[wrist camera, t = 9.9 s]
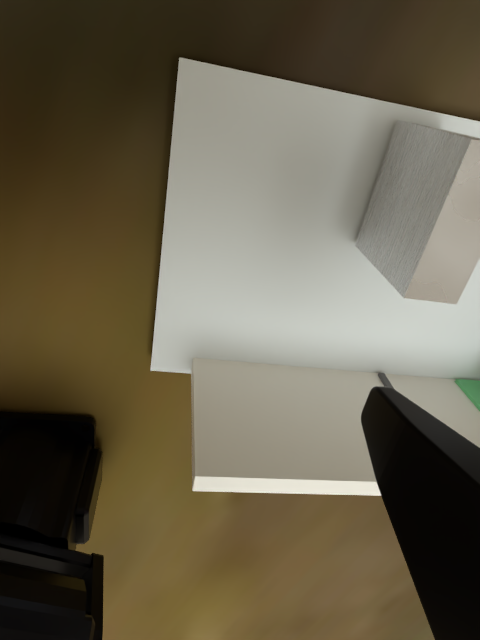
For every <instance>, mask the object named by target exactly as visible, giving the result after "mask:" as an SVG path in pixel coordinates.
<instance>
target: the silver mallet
mask: <svg viewBox="0 0 480 640" xmlns="http://www.w3.org/2000/svg"><path fill="white" fill-rule="evenodd" d="M355 246H356V247H357V248H358V249H359V250H360V251H361V253H362V254H363V255H364V256H365V257H366V258H367V259H368V260H369V261H370V262H371V263H372V264H373V265H374V267H375V268H376V269H377V270H378V271H379V272H380V273H381V274H382V275H383V276H384V277H385V278H386V280H387V281H388V282H389V283H390V284H391V285H392V286H393V287H394V288H395V289H396V290H397V291H398V292H399V294H400V295H401V296H402V297H403V298H407V299H415V300H424V301H432V302H440V303H449V304H457V302H458V300H459V298H460V296H461V294H462V292H463V290H464V288H465V287H466V285H467V283H468V281H469V279H470V277H471V275H472V273H473V271H474V269H475V267H476V265H477V263H478V261H479V259H480V138H477V137H473V136H469V135H465V134H461V133H457V132H453V131H449V130H445V129H440V128H435V127H430V126H425V125H420V124H416V123H411V122H406V121H401V120H397V123H396V125H395V128H394V131H393V134H392V137H391V140H390V143H389V146H388V149H387V152H386V155H385V158H384V161H383V164H382V167H381V170H380V173H379V176H378V179H377V182H376V185H375V188H374V191H373V194H372V197H371V199H370V202H369V205H368V208H367V211H366V214H365V217H364V220H363V223H362V226H361V229H360V232H359V235H358V238H357V241H356V244H355Z"/></svg>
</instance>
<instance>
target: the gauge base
mask: <svg viewBox="0 0 480 640" xmlns="http://www.w3.org/2000/svg"><path fill="white" fill-rule="evenodd" d="M397 120H401V121H406V122H411V123H416V124H420V125H425V126H430V127H435V128H440V129H445V130H449V131H453V132H457V133H461V134H465V135H469V136H473V137H477V138H480V122H479V121H475V120H470V119H465V118H461V117H456V116H451V115H447V114H442V113H437V112H433V111H428V110H423V109H419V108H414V107H409V106H405V105H400V104H395V103H391V102H386V101H381V100H377V99H372V98H367V97H363V96H358V95H353V94H349V93H344V92H339V91H335V90H330V89H325V88H321V87H316V86H311V85H307V84H302V83H297V82H293V81H288V80H283V79H279V78H274V77H269V76H265V75H260V74H255V73H251V72H246V71H241V70H236V69H232V68H227V67H222V66H218V65H213V64H208V63H204V62H199V61H194V60H190V59H185V58H180V57H179V65H178V76H177V87H176V98H175V109H174V120H173V131H172V142H171V152H170V163H169V174H168V185H167V196H166V207H165V218H164V229H163V240H162V251H161V261H160V272H159V283H158V294H157V305H156V316H155V327H154V338H153V349H152V359H151V370H150V371H164V372H177V373H190V374H191V405H192V491H213V492H254V493H295V494H336V495H377V496H381V494H380V491H379V488H378V485H377V482H376V478H375V475H374V471H373V467H372V463H371V459H370V455H369V452H368V448H367V444H366V440H365V436H364V432H363V428H362V424H361V413H362V410H363V408H364V405H365V403H366V400H367V398H368V395H369V392H370V390H371V389H372V388H373V387H375V386H383V387H391V388H393V389H395V390H396V391H398V392H399V393H401V394H402V395H403V396H405V397H406V398H408V399H409V400H411V401H412V402H414V403H415V404H417V405H418V406H420V407H421V408H422V409H424V410H425V411H427V412H428V413H430V414H431V415H433V416H434V417H436V418H437V419H438V420H440V421H441V422H443V423H444V424H446V425H447V426H449V427H450V428H452V429H453V430H455V431H456V432H457V433H459V434H460V435H462V436H463V437H465V438H466V439H468V440H469V441H471V442H472V443H474V444H475V445H476V446H478V447H479V448H480V259H479V261H478V263H477V265H476V267H475V269H474V271H473V273H472V275H471V277H470V279H469V281H468V283H467V285H466V287H465V288H464V290H463V292H462V294H461V296H460V298H459V300H458V302H457V304H449V303H440V302H432V301H424V300H415V299H407V298H403V297H402V296H401V295H400V294H399V292H398V291H397V290H396V289H395V288H394V287H393V286H392V285H391V284H390V283H389V282H388V281H387V280H386V278H385V277H384V276H383V275H382V274H381V273H380V272H379V271H378V270H377V269H376V268H375V267H374V265H373V264H372V263H371V262H370V261H369V260H368V259H367V258H366V257H365V256H364V255H363V254H362V253H361V251H360V250H359V249H358V248H357V247H356V246H355V244H356V241H357V238H358V235H359V232H360V229H361V226H362V223H363V220H364V217H365V214H366V211H367V208H368V205H369V202H370V199H371V197H372V194H373V191H374V188H375V185H376V182H377V179H378V176H379V173H380V170H381V167H382V164H383V161H384V158H385V155H386V152H387V149H388V146H389V143H390V140H391V137H392V134H393V131H394V128H395V125H396V123H397Z"/></svg>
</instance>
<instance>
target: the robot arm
mask: <svg viewBox="0 0 480 640" xmlns="http://www.w3.org/2000/svg"><path fill="white" fill-rule="evenodd" d="M361 424H362V428H363V432H364V436H365V440H366V444H367V448H368V452H369V455H370V459H371V463H372V467H373V471H374V475H375V478H376V482H377V485H378V488H379V491H380V494H381V496H382V499H383V502H384V504H385V507H386V510H387V512H388V515H389V518H390V520H391V523H392V526H393V528H394V531H395V534H396V536H397V539H398V542H399V545H400V547H401V550H402V553H403V555H404V558H405V561H406V563H407V566H408V569H409V571H410V574H411V577H412V579H413V582H414V585H415V587H416V590H417V593H418V595H419V598H420V601H421V604H422V606H423V609H424V612H425V614H426V617H427V620H428V622H429V625H430V628H431V630H432V633H433V636H434V638H435V640H480V448H479V447H478V446H476V445H475V444H474V443H472V442H471V441H469V440H468V439H466V438H465V437H463V436H462V435H460V434H459V433H457V432H456V431H455V430H453V429H452V428H450V427H449V426H447V425H446V424H444V423H443V422H441V421H440V420H438V419H437V418H436V417H434V416H433V415H431V414H430V413H428V412H427V411H425V410H424V409H422V408H421V407H420V406H418V405H417V404H415V403H414V402H412V401H411V400H409V399H408V398H406V397H405V396H403V395H402V394H401V393H399V392H398V391H396V390H395V389H393V388H391V387H383V386H375V387H373V388H372V389H371V390H370V392H369V395H368V398H367V400H366V403H365V405H364V408H363V410H362V413H361ZM84 425H88V426H84ZM101 480H102V451H101V450H100V449H99V448H96V422H95V420H94V419H93V418H91V417H86V416H68V415H50V414H31V413H13V412H0V640H102V633H103V558H104V557H103V555H99V554H95V553H92V554H91V555H90V554H86V553H82V552H78V551H75V549H76V545H77V544H85V543H86V542H87V541H88V540H89V538H90V533H91V528H92V524H93V519H94V514H95V509H96V504H97V500H98V495H99V490H100V485H101Z"/></svg>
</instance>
